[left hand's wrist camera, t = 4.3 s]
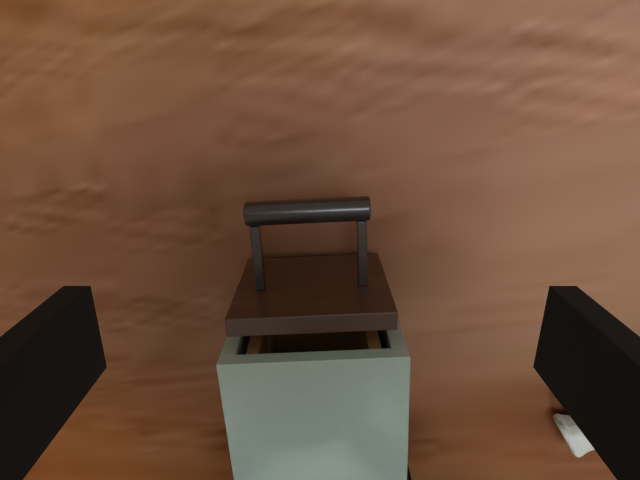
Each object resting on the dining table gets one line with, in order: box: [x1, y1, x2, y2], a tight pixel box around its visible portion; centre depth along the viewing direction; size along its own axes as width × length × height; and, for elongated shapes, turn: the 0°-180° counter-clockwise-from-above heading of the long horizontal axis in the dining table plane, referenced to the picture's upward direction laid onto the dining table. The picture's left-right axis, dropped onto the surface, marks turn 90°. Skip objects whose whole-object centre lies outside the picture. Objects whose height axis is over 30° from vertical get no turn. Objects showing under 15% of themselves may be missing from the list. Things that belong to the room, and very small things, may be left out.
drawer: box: [225, 196, 398, 354], centre depth 31 cm, size 23×10×9 cm, turn 3°
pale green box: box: [216, 321, 410, 480], centre depth 34 cm, size 18×11×11 cm, turn 3°
